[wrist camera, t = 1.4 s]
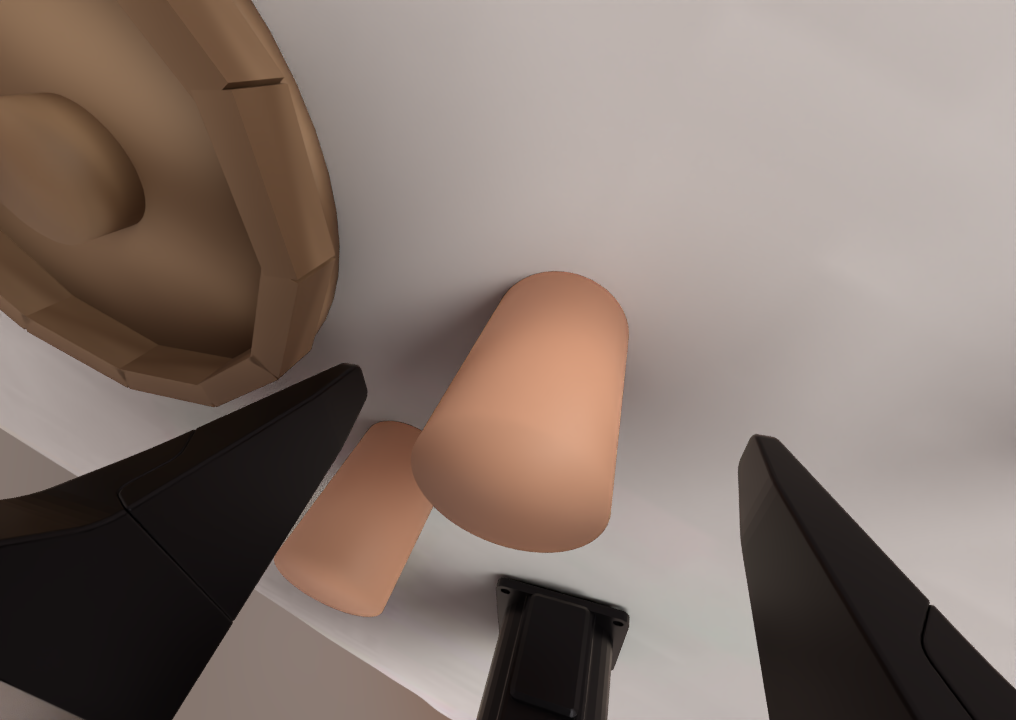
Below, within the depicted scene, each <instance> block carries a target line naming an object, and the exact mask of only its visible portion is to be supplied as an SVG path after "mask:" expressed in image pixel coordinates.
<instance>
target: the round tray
mask: <svg viewBox="0 0 1016 720" xmlns="http://www.w3.org/2000/svg"><path fill="white" fill-rule="evenodd" d="M338 270H339V235H338V224H337V212H336V207H335V202H334V197H333V192H332V188H331V183H330V178H329V173H328V170H327V166H326V163H325V160H324V157H323V154H322V150H321V147H320V144H319V141H318V137H317V134H316V131H315V128H314V126H313V123H312V121H311V118H310V116H309V113H308V111H307V109H306V106H305V104H304V101H303V99H302V96H301V94H300V91H299V89H298V87H297V84H296V82H295V80H294V78H293V76H292V74H291V72H290V70H289V68H288V66H287V64H286V62H285V60H284V58H283V56H282V54H281V52H280V50H279V48H278V46H277V44H276V42H275V40H274V38H273V36H272V34H271V33H270V31H269V29H268V27H267V26H266V24H265V22H264V21H263V19H262V17H261V16H260V14H259V13H258V11H257V9H256V8H255V6H254V4H253V3H252V1H251V0H0V310H1V311H3V312H4V313H5V314H6V315H7V316H9V317H10V318H11V319H12V320H13V321H15V322H16V323H17V324H18V325H19V326H21V327H22V328H23V329H27V332H29V333H31V334H32V335H34V336H36V337H38V338H40V339H41V340H43V341H45V342H47V343H48V344H50V345H52V346H54V347H56V348H57V349H59V350H61V351H63V352H65V353H66V354H68V355H70V356H72V357H73V358H75V359H77V360H79V361H81V362H82V363H84V364H86V365H88V366H90V367H91V368H93V369H95V370H97V371H98V372H100V373H102V374H104V375H106V376H107V377H109V378H111V379H113V380H115V381H116V382H118V383H120V384H122V385H123V386H125V387H127V388H128V387H129V388H130V389H133V390H138V391H143V392H147V393H152V394H156V395H161V396H165V397H170V398H174V399H179V400H184V401H188V402H193V403H197V404H202V405H206V406H211V407H215V406H216V407H218V406H220V405H222V404H225V403H227V402H229V401H231V400H234V399H236V398H238V397H240V396H242V395H245V394H247V393H249V392H251V391H254V390H256V389H258V388H260V387H263V386H265V385H267V384H269V383H272V382H274V381H276V380H278V379H279V378H280V377H281V376H282V375H284V374H285V373H286V372H287V371H288V370H289V369H290V368H291V367H292V366H294V365H295V364H296V363H297V362H298V361H299V360H300V359H301V358H303V357H304V356H305V355H306V354H307V353H308V352H309V351H310V350H311V349H312V345H313V341H314V337H315V335H316V334H317V332H318V331H319V329H320V328H321V326H322V324H323V323H324V321H325V320H326V317H327V315H328V312H329V310H330V307H331V305H332V302H333V299H334V294H335V289H336V284H337V279H338Z"/></svg>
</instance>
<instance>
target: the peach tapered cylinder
mask: <svg viewBox="0 0 1016 720" xmlns="http://www.w3.org/2000/svg"><path fill="white" fill-rule="evenodd" d="M421 432H422V431H421V430H419V429H418V428H415V427H413V426H411V425H408V424H405V423H401V422H395V421H383V422H379V423H376V424H374V425H373V426H371V427H370V428H369V430H368V431H367V432H366V434H365V435H364V436H363V438H362V439H361V440H360V442H359V443H358V444H357V446H356V447H355V449H354V450H353V451H352V453H351V454H350V455H349V457H348V458H347V459H346V461H345V462H344V463H343V465H342V466H341V467H340V469H339V470H338V471H337V473H336V474H335V475H334V477H333V478H332V479H331V481H330V482H329V484H328V485H327V486H326V488H325V489H324V490H323V492H322V493H321V494H320V496H319V497H318V498H317V500H316V501H315V502H314V504H313V505H312V506H311V508H310V509H309V510H308V512H307V513H306V514H305V516H304V517H303V519H302V520H301V521H300V523H299V524H298V525H297V527H296V528H295V529H294V531H293V532H292V533H291V535H290V536H289V537H288V539H287V540H286V541H285V543H284V544H283V545H282V547H281V548H280V549H279V551H278V552H277V554H276V555H275V557H274V562H275V565H276V567H277V568H278V570H279V571H280V573H281V574H282V575H283V576H284V577H285V578H286V579H287V580H288V581H289V582H290V583H292V584H293V585H294V586H295V587H297V588H298V589H299V590H301V591H302V592H304V593H305V594H307V595H308V596H310V597H312V598H314V599H315V600H317V601H319V602H321V603H323V604H325V605H327V606H330V607H332V608H334V609H337V610H339V611H342V612H345V613H349V614H353V615H357V616H364V617H373V616H377V615H379V614H381V613H382V612H383V609H384V607H385V605H386V603H387V601H388V599H389V597H390V595H391V593H392V591H393V589H394V587H395V585H396V583H397V580H398V578H399V576H400V574H401V572H402V570H403V568H404V566H405V564H406V562H407V560H408V558H409V556H410V554H411V551H412V549H413V547H414V545H415V543H416V541H417V539H418V537H419V535H420V533H421V531H422V529H423V527H424V525H425V522H426V520H427V518H428V516H429V514H430V512H431V510H432V508H433V505H432V504H431V503H430V502H429V501H428V500H427V498H426V497H425V496H424V495H423V493H422V492H421V490H420V489H419V487H418V485H417V483H416V481H415V479H414V476H413V473H412V468H411V453H412V449H413V446H414V444H415V442H416V440H417V439H418V437H419V435H420V434H421Z"/></svg>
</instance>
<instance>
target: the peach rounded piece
mask: <svg viewBox="0 0 1016 720" xmlns="http://www.w3.org/2000/svg"><path fill="white" fill-rule="evenodd" d="M628 339H629V330H628V323H627V319H626V317H625V314H624V312H623V310H622V308H621V306H620V304H619V303H618V302H617V300H616V299H615V298H614V297H613V296H612V295H611V294H610V293H609V292H608V291H607V290H606V289H605V288H603V287H602V286H601V285H599V284H598V283H596V282H594V281H592V280H591V279H588V278H586V277H584V276H581V275H577V274H574V273H568V272H559V271H552V272H543V273H538V274H534V275H531V276H529V277H526V278H524V279H522V280H521V281H519V282H518V283H516V284H515V285H513V286H512V287H511V288H510V289H509V290H508V291H507V293H506V294H505V295H504V297H503V298H502V300H501V301H500V303H499V305H498V306H497V308H496V310H495V311H494V313H493V315H492V316H491V318H490V320H489V321H488V323H487V325H486V326H485V328H484V329H483V331H482V333H481V334H480V336H479V338H478V339H477V341H476V343H475V344H474V346H473V348H472V349H471V351H470V353H469V354H468V356H467V358H466V359H465V361H464V363H463V364H462V366H461V367H460V369H459V371H458V372H457V374H456V376H455V377H454V379H453V381H452V382H451V384H450V386H449V387H448V389H447V391H446V392H445V394H444V396H443V397H442V399H441V401H440V402H439V404H438V405H437V407H436V409H435V410H434V412H433V414H432V415H431V417H430V419H429V420H428V422H427V424H426V425H425V427H424V429H423V430H422V432H421V434H420V435H419V437H418V439H417V440H416V442H415V444H414V446H413V449H412V453H411V468H412V473H413V476H414V479H415V481H416V483H417V485H418V487H419V489H420V490H421V492H422V493H423V495H424V496H425V497H426V498H427V500H428V501H429V502H430V503H431V504H432V505H433V506H434V507H435V508H436V509H437V510H438V511H439V512H440V513H441V514H442V515H444V516H445V517H446V518H447V519H449V520H450V521H452V522H453V523H454V524H456V525H457V526H459V527H461V528H462V529H464V530H466V531H468V532H470V533H471V534H473V535H475V536H477V537H480V538H482V539H484V540H487V541H489V542H492V543H495V544H498V545H501V546H504V547H508V548H512V549H517V550H522V551H529V552H540V553H553V552H563V551H568V550H573V549H576V548H579V547H582V546H584V545H586V544H588V543H590V542H592V541H593V540H595V539H596V538H598V536H599V535H600V534H601V533H602V532H603V531H604V530H605V528H606V526H607V525H608V522H609V519H610V515H611V505H612V495H613V485H614V476H615V466H616V456H617V446H618V436H619V427H620V417H621V407H622V397H623V388H624V378H625V368H626V358H627V348H628Z"/></svg>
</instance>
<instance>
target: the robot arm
mask: <svg viewBox="0 0 1016 720" xmlns="http://www.w3.org/2000/svg"><path fill="white" fill-rule="evenodd" d="M366 398H367V387H366V383H365V380H364V376H363V373H362V370H361V368H360V367H359V366H358V365H355V364H349V363H342V364H339V365H337V366H335V367H332V368H330V369H328V370H326V371H324V372H321V373H319V374H317V375H315V376H312V377H310V378H308V379H306V380H303V381H301V382H299V383H297V384H295V385H292V386H290V387H288V388H286V389H283V390H281V391H279V392H277V393H274V394H272V395H270V396H268V397H266V398H263V399H261V400H259V401H257V402H254V403H252V404H250V405H248V406H245V407H243V408H241V409H239V410H236V411H234V412H232V413H230V414H228V415H225V416H223V417H221V418H219V419H216V420H214V421H212V422H210V423H207V424H205V425H203V426H201V427H199V428H197V429H196V430H192V431H189V432H187V433H185V434H183V435H181V436H178V437H176V438H174V439H172V440H169V441H167V442H165V443H162V444H160V445H158V446H155V447H153V448H151V449H148V450H146V451H143V452H141V453H138V454H136V455H133V456H131V457H128V458H126V459H123V460H121V461H118V462H116V463H113V464H111V465H108V466H105V467H103V468H100V469H98V470H95V471H93V472H90V473H87V474H85V475H82V476H80V477H77V478H75V479H72V480H69V481H67V482H64V483H62V484H59V485H57V486H54V487H51V488H49V489H46V490H43V491H40V492H36V493H33V494H30V495H25V496H21V497H16V498H10V499H3V500H0V720H172V719H173V718H174V716H175V714H176V713H177V711H178V709H179V708H180V706H181V705H182V703H183V702H184V700H185V698H186V697H187V695H188V694H189V692H190V690H191V689H192V687H193V686H194V684H195V682H196V681H197V679H198V678H199V676H200V675H201V673H202V671H203V670H204V668H205V667H206V665H207V663H208V662H209V660H210V658H211V657H212V655H213V654H214V652H215V651H216V649H217V647H218V646H219V644H220V643H221V641H222V639H223V638H224V636H225V635H226V633H227V631H228V630H229V628H230V627H231V625H232V623H233V620H235V618H236V617H237V615H238V613H239V612H240V610H241V609H242V607H243V606H244V604H245V602H246V601H247V599H248V598H249V596H250V594H251V593H252V591H253V590H254V588H255V586H256V585H257V583H258V582H259V580H260V578H261V577H262V575H263V574H264V572H265V570H266V569H267V567H268V566H269V564H270V563H271V561H272V559H273V558H274V556H275V555H276V553H277V551H278V550H279V548H280V547H281V545H282V543H283V542H284V540H285V539H286V537H287V535H288V534H289V532H290V531H291V529H292V527H293V526H294V524H295V523H296V521H297V519H298V518H299V516H300V515H301V513H302V512H303V510H304V508H305V507H306V505H307V504H308V502H309V500H310V499H311V497H312V496H313V494H314V492H315V491H316V489H317V488H318V486H319V484H320V483H321V481H322V480H323V478H324V476H325V475H326V473H327V472H328V470H329V468H330V467H331V465H332V464H333V462H334V460H335V459H336V457H337V456H338V454H339V452H340V451H341V449H342V447H343V445H344V443H345V441H346V439H347V437H348V435H349V433H350V431H351V429H352V427H353V425H354V423H355V421H356V419H357V417H358V415H359V413H360V411H361V409H362V407H363V405H364V402H365V400H366ZM738 484H739V513H740V537H741V546H742V553H743V560H744V566H745V572H746V578H747V584H748V590H749V597H750V603H751V609H752V615H753V621H754V627H755V634H756V640H757V646H758V652H759V658H760V664H761V671H762V677H763V683H764V689H765V695H766V701H767V708H768V714H769V720H1016V689H1015V688H1014V687H1013V686H1012V685H1011V684H1010V683H1009V682H1008V681H1007V680H1006V679H1005V678H1004V677H1003V676H1002V675H1001V674H1000V673H999V672H998V671H997V670H996V669H995V668H993V666H992V665H991V664H990V663H989V662H988V661H987V660H986V659H985V658H984V657H983V656H982V655H981V654H980V653H979V652H978V651H977V650H976V649H975V648H974V647H973V646H972V645H971V644H970V643H969V642H968V641H967V640H966V639H965V638H964V637H963V636H962V634H961V633H960V632H959V631H958V630H957V629H956V628H955V627H954V626H953V625H952V624H951V623H950V622H949V621H948V620H947V619H946V618H945V617H944V615H943V614H942V613H941V612H940V611H939V610H938V609H937V608H936V607H935V606H933V605H929V604H930V602H929V600H928V599H927V598H926V596H925V595H924V594H923V593H922V592H921V591H920V590H919V589H918V588H917V587H916V586H915V585H914V584H913V583H912V582H911V580H910V579H909V578H908V577H907V576H906V575H905V574H904V573H903V572H902V571H901V570H900V569H899V568H898V567H897V566H896V564H895V563H894V562H893V561H892V560H891V559H890V558H889V557H888V556H887V555H886V554H885V553H884V552H883V551H882V550H881V548H880V547H879V546H878V545H877V544H876V543H875V542H874V541H873V540H872V539H871V538H870V537H869V536H868V535H867V534H866V532H865V531H864V530H863V529H862V528H861V527H860V526H859V525H858V524H857V523H856V522H855V521H854V520H853V519H852V518H851V516H850V515H849V514H848V513H847V512H846V511H845V510H844V509H843V508H842V507H841V506H840V505H839V504H838V503H837V501H836V500H835V499H834V498H833V497H832V496H831V495H830V494H829V493H828V492H827V491H826V490H825V489H824V488H823V487H822V485H821V484H820V483H819V482H818V481H817V480H816V479H815V478H814V477H813V476H812V475H811V474H810V473H809V472H808V471H807V469H806V468H805V467H804V466H803V465H802V464H801V463H800V462H799V461H798V460H797V459H796V458H795V457H794V456H793V455H792V453H791V452H790V451H789V450H788V449H787V448H786V447H785V446H784V445H783V444H782V443H781V442H780V441H779V440H778V439H777V438H775V437H771V436H765V435H759V434H755V435H753V436H752V437H751V438H750V440H749V442H748V444H747V446H746V448H745V450H744V452H743V455H742V457H741V459H740V462H739V466H738ZM496 596H497V609H498V623H499V637H498V641H497V644H496V648H495V652H494V656H493V659H492V663H491V667H490V671H489V674H488V678H487V682H486V685H485V689H484V693H483V697H482V700H481V704H480V708H479V712H478V715H477V719H476V720H607V716H608V703H609V690H610V676H611V670H613V669H614V666H615V664H616V661H617V658H618V656H619V653H620V650H621V647H622V645H623V642H624V639H625V636H626V634H627V631H628V628H629V615H628V614H627V613H626V612H624V611H621V610H618V609H614V608H611V607H607V606H604V605H600V604H597V603H593V602H589V601H586V600H582V599H579V598H575V597H572V596H568V595H564V594H561V593H557V592H554V591H550V590H546V589H543V588H539V587H536V586H532V585H529V584H525V583H521V582H518V581H514V580H511V579H507V578H500V579H499V580H498V583H497V587H496Z"/></svg>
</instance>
